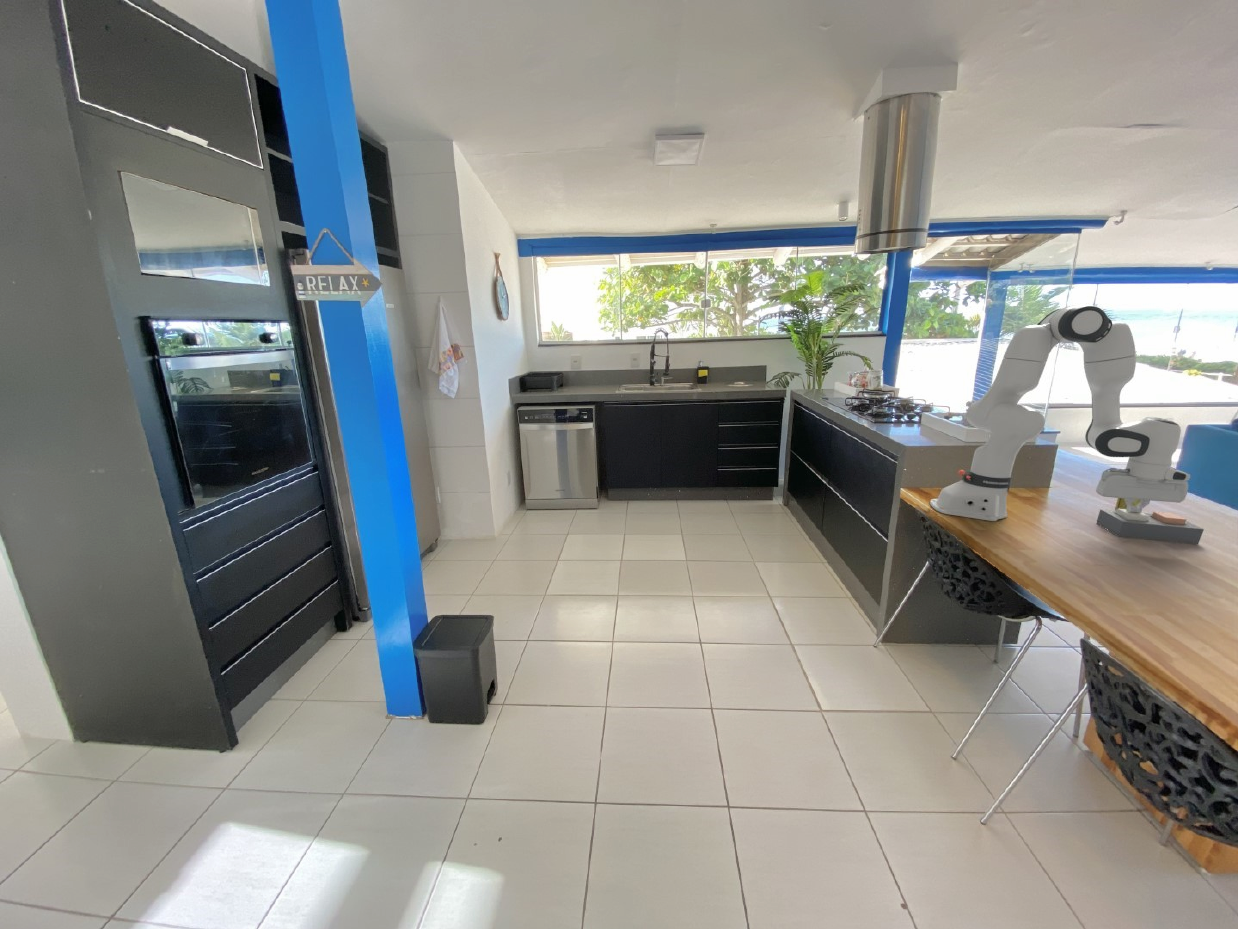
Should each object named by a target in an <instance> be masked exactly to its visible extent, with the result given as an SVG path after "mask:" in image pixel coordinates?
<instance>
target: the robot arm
mask: <svg viewBox="0 0 1238 929" xmlns="http://www.w3.org/2000/svg"><path fill="white" fill-rule="evenodd" d="M1063 343H1064V344H1071V343H1077V344H1078V345H1079V346H1080V348H1081V349H1082V352H1083V369H1084V374H1085V378H1086V381H1087V384H1088V387H1089V391H1090V394H1091V413H1092V414H1091V416H1092V417H1091V422H1090V424H1089V426H1088V428H1087V430H1086V431H1085V436H1084V439H1085V441H1086V443H1087V445H1088V446H1089V447H1090V448H1092V449H1094V450H1095V451H1097V452H1098V453H1099V454H1100V455H1103V456H1106V457H1109V458H1128V461H1127V463H1126V467H1125V468H1115V467H1110V468H1108V469H1105V470H1103V472H1102V473H1101V478H1100V480H1099V482H1098V484H1097V486H1096V489H1095V491H1096V493H1097V494H1098V495H1099V496H1101V497H1104V498H1115V499H1116V498H1117V499H1118V498H1125V499H1124V500H1125V503H1126V505H1127V508H1126V511H1128V512H1134V513H1141V512H1142V511H1143V509H1144V508H1145V507H1147V506H1148V505H1150V502H1151V501H1153V502H1165V503H1166V502H1167V503H1168V502H1169V503H1183V501H1185V499H1186V497H1187V495H1188V491H1189V483H1188V482H1187V481H1189V480H1190V479H1191V474H1189V473H1187V472H1184V471H1182V470H1178V469H1177V468H1174V467H1171V466H1172V464H1173V460H1172V457H1173V455H1174V454H1175V452H1177V449H1178V446H1179V442H1180V438H1181V434H1182V433H1181V432H1182V429H1181V426H1180V425H1179V424H1178V423H1176V422H1175V421H1172V420H1168V419H1165V418H1161V417H1154V416H1148V417H1145V418H1142V419H1139V420H1137V421H1133V422H1129V423H1125V424H1124V423H1123V422H1122V419H1121V410H1120V409H1121V401H1120V400H1121V399H1120V398H1121V392H1122V390H1123V388H1124V387H1125V385H1127V384H1128V383H1129V382H1130V381H1131V380H1132V379H1133V378H1134V375H1135V371H1136V367H1137V366H1136V364H1137V357H1136V355H1137V354H1136V344H1135V339H1134V337H1133V333H1132V331H1131V328H1130V326H1129V325H1128V324H1127V323H1125V322H1122V321H1118V320H1116V321H1112V320H1111V319H1110V317H1109V316H1107V314H1106V312H1105V311H1104V310H1103V309H1101V308H1100V307H1098V306H1095V305H1092V304H1080V305H1069V306H1065V307H1063V308H1059V309H1056V310H1053V311H1051V312H1049V314H1047V315H1046V316H1045V317H1044V318H1042V320H1039V322H1038V323H1037V324H1031V325H1029V324H1028V325H1026V326H1023V327H1020V328H1019V329H1018V330H1016V331H1015V333H1014V335H1013V337H1012V338H1011V340H1010V341H1009V343H1008V346H1007V348H1006V349H1005V352H1004V354H1003V357H1002V360H1001V363H1000V366H999V368H998V371H997V373H996V376H995V379H994V381H993V382H992V384H991V386H990V387H989V388H988V390H987V391H986V392H985V393H984V395H983V396H981V397H980V399H977V400H976V401H975V402H973V403H971V404H970V405H969V406H968V408H967V410H966V414H965V418H966V421H967V422H968V423H969V425H971V426H973V427H974V428H976V429H977V430H980V431H983V432H987V433H990V435H989V437H988V439H987V440H986V442H985V443H984V444H983V445H981V446H978V447H977V448H976V449H975V450H974V453H973V458H972V462H971V467H970V470H968V471H965V470H964V469H959V470H958V472H957V473H958V475H959V476H960V477H962V479H961V480H959V481H957V482H955V483H953V484H950V485H948V486H945V487H944V488H942V489H941V491H940V493H939V495H938V497H937V498H932V499H930V501H929V505H930V506H931V507H932V508H933V509H934V510H935V511H937V512H938V513H942V514H945V515H950V516H951V515H952V516H958V517H963V518H969V519H970V518H971V519H977V520H984V521H990V522H997V521H998V520H1000V519H1005V518H1007V517H1008V513H1007V496H1008V492H1009V490H1010V487H1011V484H1012V480H1013V479H1012V472H1013V468H1014V464H1015V461H1016V459H1017V455H1018V454H1019V451H1020V450H1021V448H1022V447H1023V446H1024V445H1025V444H1026V443H1027V442H1028V441H1029V440H1032V439H1034V438H1036V437H1037V436H1038V435H1040V433H1042V431H1043V429H1044V427H1045V424H1046V421H1045V420H1046V419H1045V417H1044V415H1043V414H1042V413H1041V412H1040V411H1039V410H1036V409H1034V408H1033V407H1029V406H1026V405H1022V404H1018V403H1019V402H1020V400H1021V399H1022V398H1023V396H1024V395H1027V393H1029V392H1031V391H1033V390H1034V389H1036V388H1037V386H1038V385H1039V383H1040V380H1041V378H1042V375H1043V372H1044V370H1045V367H1046V364H1047V361H1048V359H1049V355H1050V353H1051V352H1052V350H1053V349H1054V347H1055V346H1056V345H1058V344H1063ZM1135 499H1139V501H1141V502H1140V503H1139V504H1138V505H1136V506H1133V504H1132V502H1135ZM1142 513H1143V512H1142Z"/></svg>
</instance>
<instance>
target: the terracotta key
mask: <svg viewBox="0 0 1238 929" xmlns="http://www.w3.org/2000/svg"><path fill="white" fill-rule="evenodd" d="M1151 514H1152V518H1154V519H1156V520H1158V521H1160V522H1162V523H1170V524H1181V525H1185V523H1186V521H1187V519H1186V518H1185V517H1182V516H1180V515H1178V514H1176V513H1171V512H1160V511H1153V512H1152V513H1151Z"/></svg>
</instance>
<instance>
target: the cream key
mask: <svg viewBox="0 0 1238 929" xmlns="http://www.w3.org/2000/svg"><path fill="white" fill-rule="evenodd" d="M1144 513H1145V512H1141V513H1134V512H1128V511H1126V509H1117V512H1116V514H1117V515H1119V516H1120V517H1122V518H1124V519H1127V520H1138V521H1147V520H1148V517H1149V516H1148V515H1146V514H1144Z"/></svg>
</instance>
